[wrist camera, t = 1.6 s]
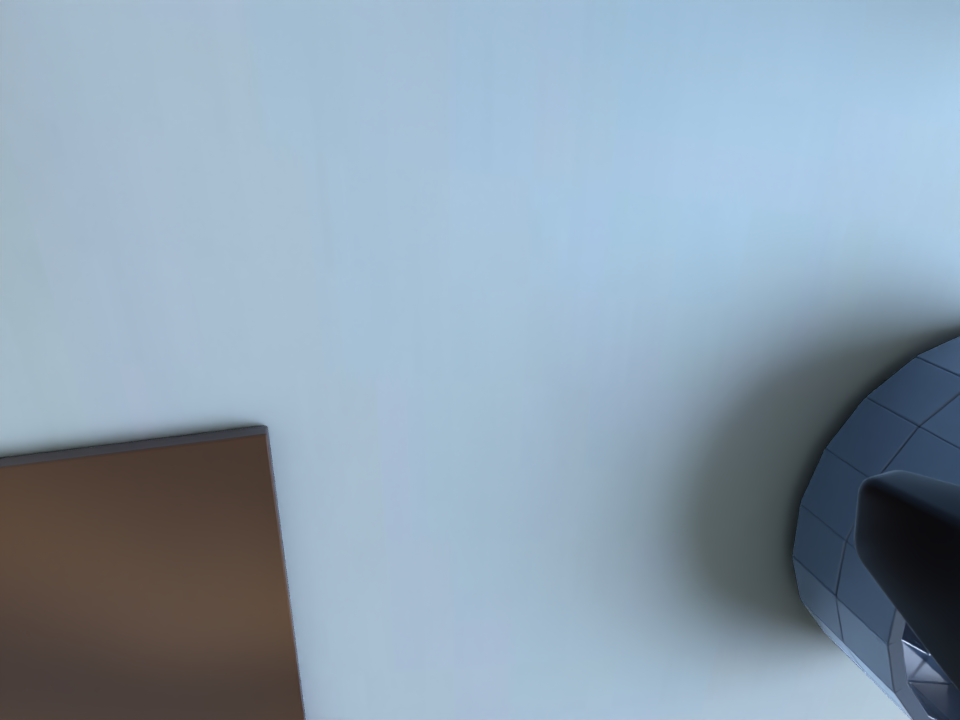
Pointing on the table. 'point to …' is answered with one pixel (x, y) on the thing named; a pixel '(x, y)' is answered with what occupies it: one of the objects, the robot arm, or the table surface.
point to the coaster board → (146, 583)
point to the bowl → (831, 521)
